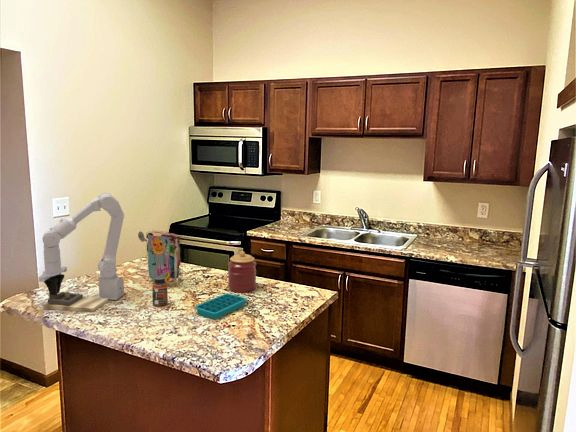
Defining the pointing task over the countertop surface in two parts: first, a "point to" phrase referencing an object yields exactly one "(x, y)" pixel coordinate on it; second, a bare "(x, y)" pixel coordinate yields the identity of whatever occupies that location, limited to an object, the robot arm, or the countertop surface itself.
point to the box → (163, 255)
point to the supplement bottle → (159, 292)
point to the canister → (242, 273)
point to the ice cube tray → (220, 305)
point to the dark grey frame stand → (56, 300)
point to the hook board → (79, 304)
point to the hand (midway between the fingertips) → (54, 293)
